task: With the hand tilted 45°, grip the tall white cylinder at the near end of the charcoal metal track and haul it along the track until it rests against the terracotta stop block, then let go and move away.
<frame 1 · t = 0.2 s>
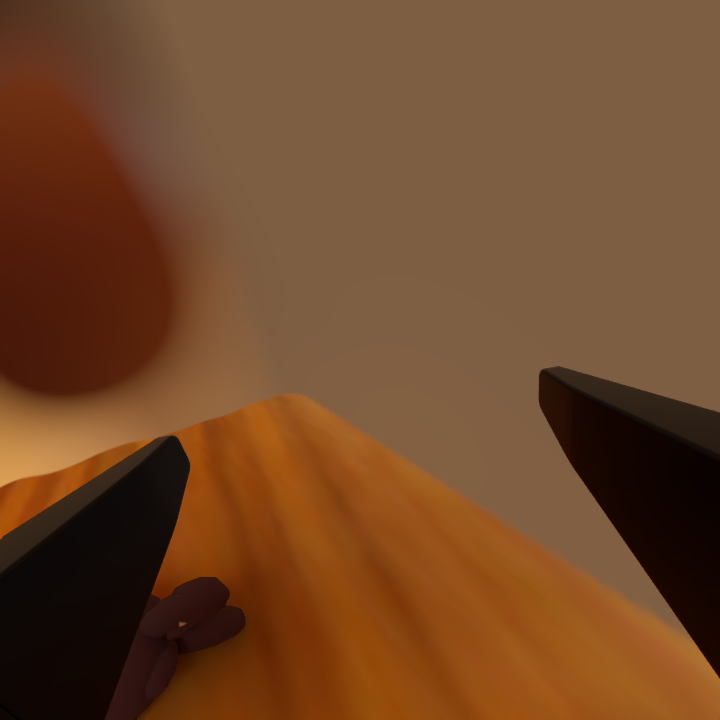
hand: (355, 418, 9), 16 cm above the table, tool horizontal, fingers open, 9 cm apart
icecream: (119, 702, 20), on the table
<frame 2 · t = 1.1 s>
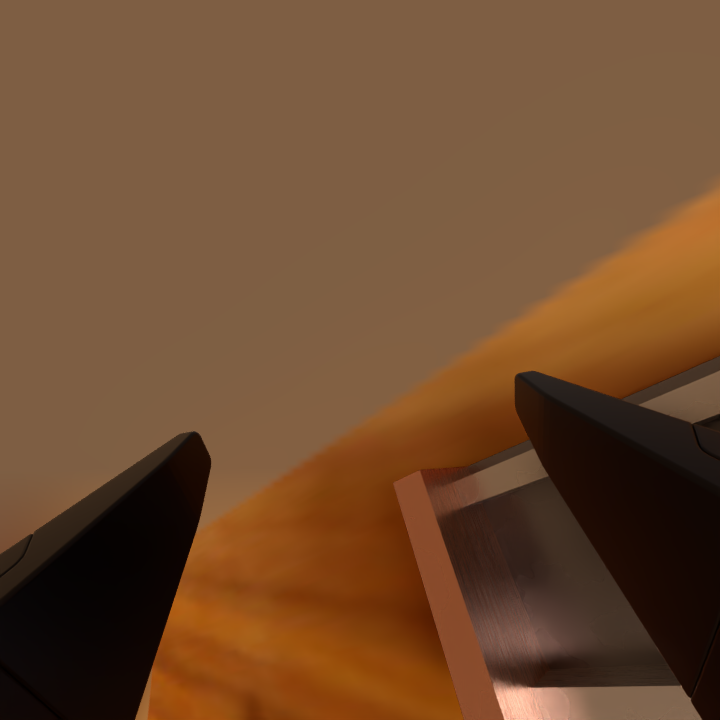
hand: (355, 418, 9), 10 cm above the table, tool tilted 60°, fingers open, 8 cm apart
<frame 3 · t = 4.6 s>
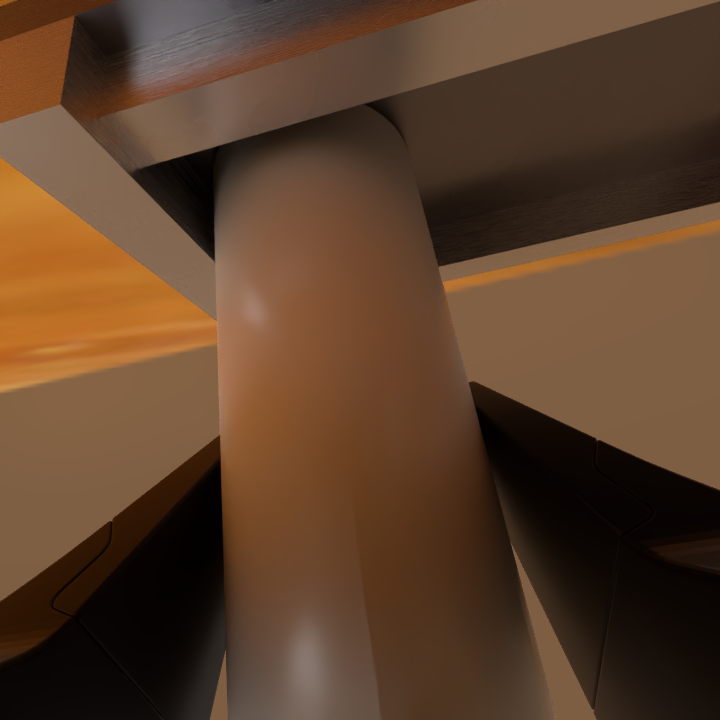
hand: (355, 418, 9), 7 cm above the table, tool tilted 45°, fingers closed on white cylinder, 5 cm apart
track: (538, 93, 9), on the table
white cylinder: (348, 416, 8), point 7 cm above the table, slide at -6.0 cm, touching gripper
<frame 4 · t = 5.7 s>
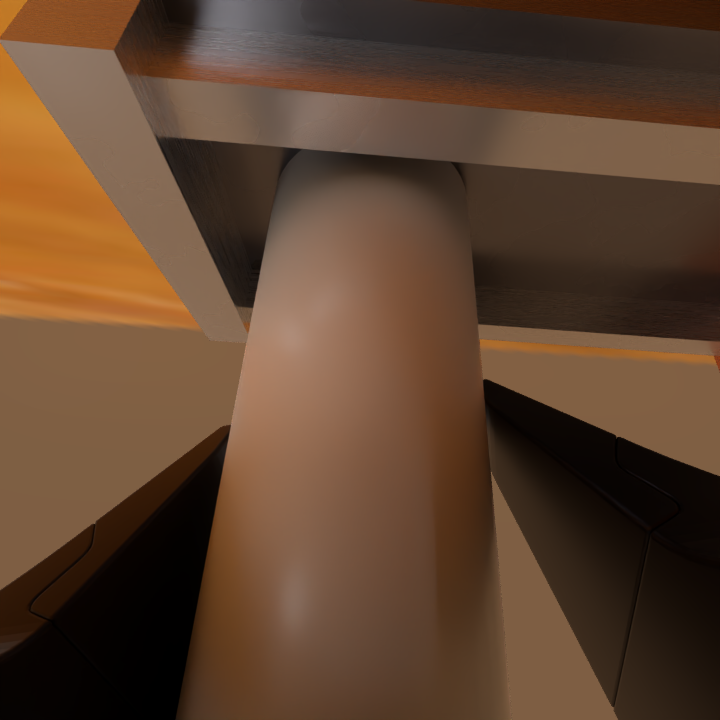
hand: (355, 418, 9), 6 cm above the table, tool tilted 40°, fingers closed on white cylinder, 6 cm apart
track: (542, 200, 11), on the table
white cylinder: (358, 445, 8), point 7 cm above the table, slide at -4.9 cm, touching gripper
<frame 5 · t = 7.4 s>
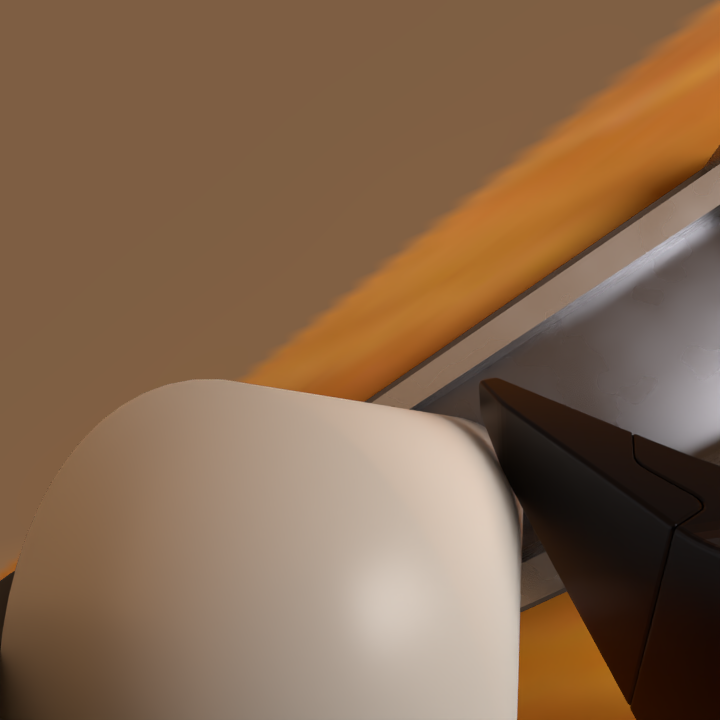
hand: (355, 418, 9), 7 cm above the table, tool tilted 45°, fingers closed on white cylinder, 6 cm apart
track: (555, 422, 14), on the table
white cylinder: (400, 521, 8), point 7 cm above the table, slide at 4.4 cm, touching gripper
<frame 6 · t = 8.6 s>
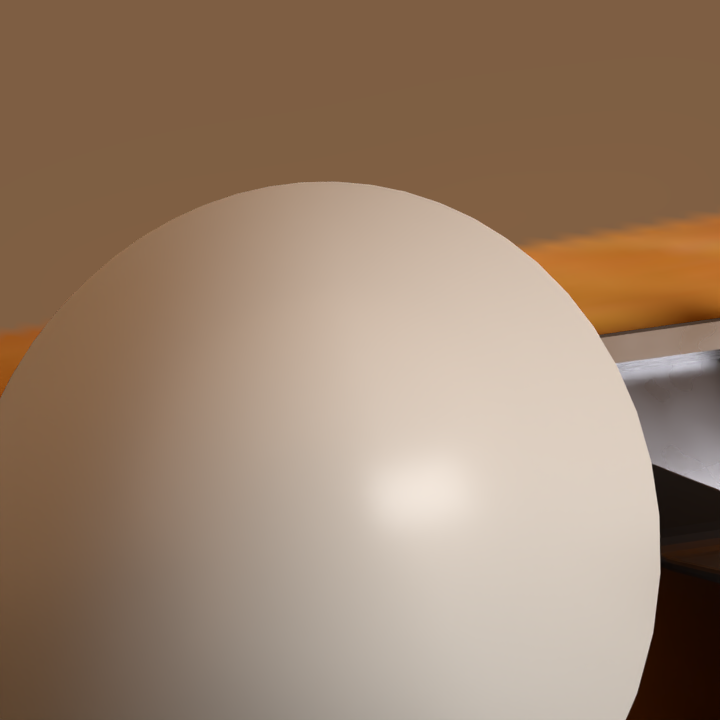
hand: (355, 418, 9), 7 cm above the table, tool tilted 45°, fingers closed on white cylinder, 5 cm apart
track: (533, 462, 15), on the table
white cylinder: (363, 476, 8), point 7 cm above the table, slide at 6.0 cm, touching gripper
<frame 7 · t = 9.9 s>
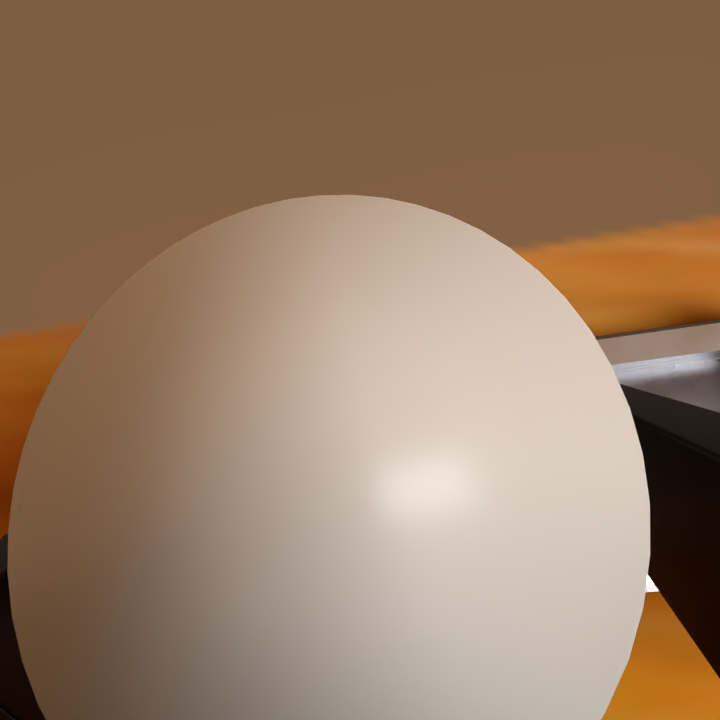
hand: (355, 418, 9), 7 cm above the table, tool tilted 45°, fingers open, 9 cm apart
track: (536, 461, 15), on the table
white cylinder: (370, 473, 9), point 7 cm above the table, slide at 6.0 cm
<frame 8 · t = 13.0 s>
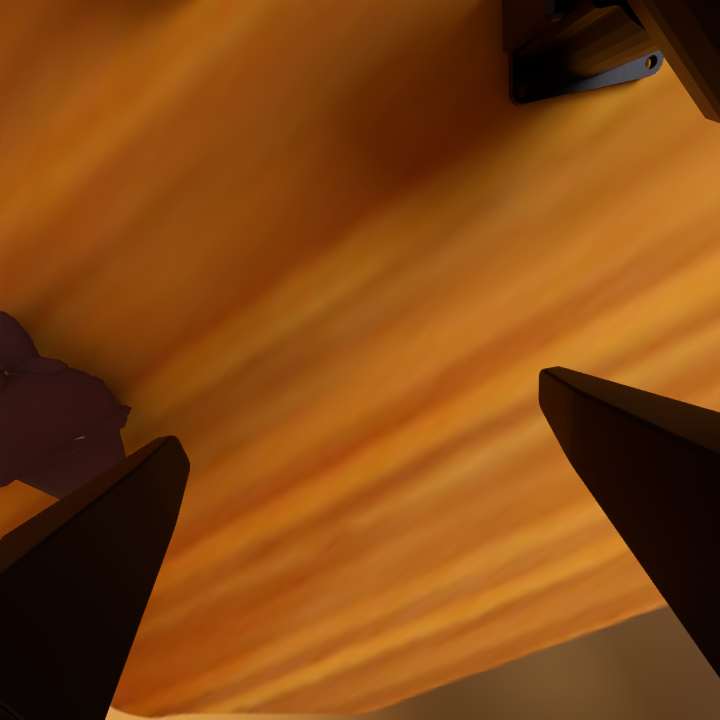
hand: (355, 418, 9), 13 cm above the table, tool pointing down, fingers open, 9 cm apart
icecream: (98, 401, 24), on the table
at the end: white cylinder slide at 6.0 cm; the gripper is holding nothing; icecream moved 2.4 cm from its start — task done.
